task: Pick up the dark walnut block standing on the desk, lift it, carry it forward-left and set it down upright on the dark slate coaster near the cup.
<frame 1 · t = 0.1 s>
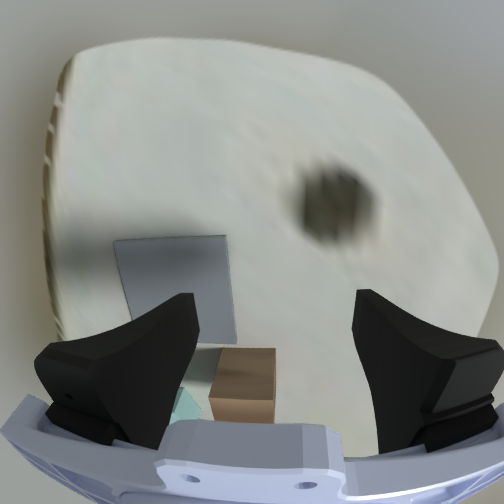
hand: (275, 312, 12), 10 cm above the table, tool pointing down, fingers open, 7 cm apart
teal block: (179, 399, 29), on the table
slate coaster: (176, 292, 24), on the table
walnut block: (250, 366, 26), on the table
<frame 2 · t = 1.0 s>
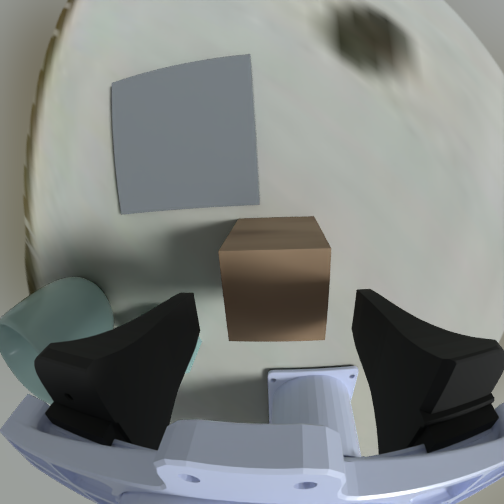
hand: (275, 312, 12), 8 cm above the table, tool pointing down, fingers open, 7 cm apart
cup: (92, 302, 23), on the table
slate coaster: (180, 134, 17), on the table
walnut block: (277, 253, 19), on the table
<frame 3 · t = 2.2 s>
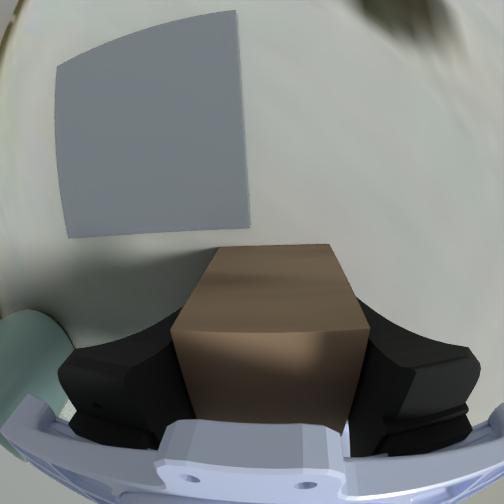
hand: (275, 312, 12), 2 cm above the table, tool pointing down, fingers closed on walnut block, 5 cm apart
cup: (55, 336, 17), on the table
slate coaster: (136, 127, 11), on the table
walnut block: (275, 294, 13), on the table, touching gripper
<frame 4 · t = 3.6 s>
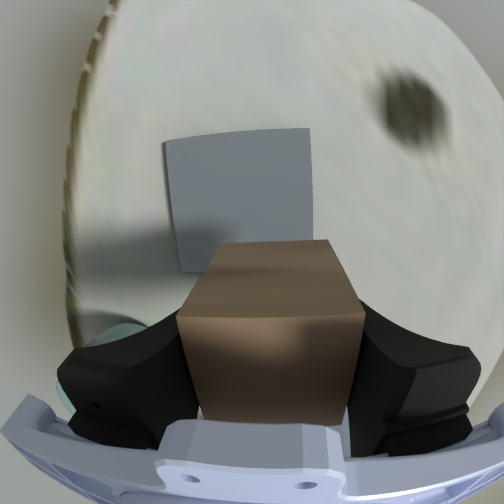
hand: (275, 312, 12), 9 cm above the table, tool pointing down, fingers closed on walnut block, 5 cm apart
cup: (143, 342, 25), on the table
slate coaster: (240, 202, 20), on the table
walnut block: (276, 289, 14), point 7 cm above the table, touching gripper
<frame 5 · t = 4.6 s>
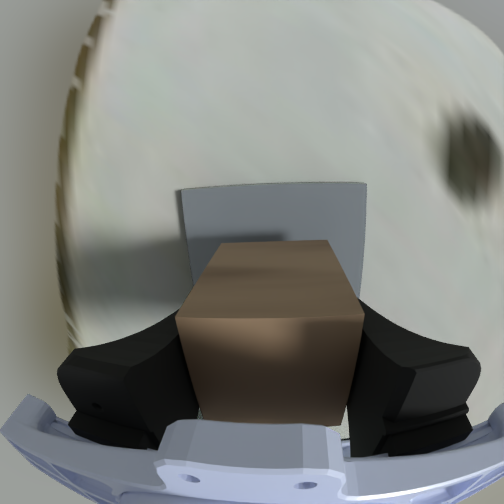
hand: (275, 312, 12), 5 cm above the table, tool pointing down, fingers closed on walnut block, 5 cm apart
slate coaster: (276, 269, 16), on the table
walnut block: (275, 289, 14), point 3 cm above the table, touching gripper
when the fingers open (3 cm above the table, at t = 5.4 s): walnut block stays where it is, resting on slate coaster.
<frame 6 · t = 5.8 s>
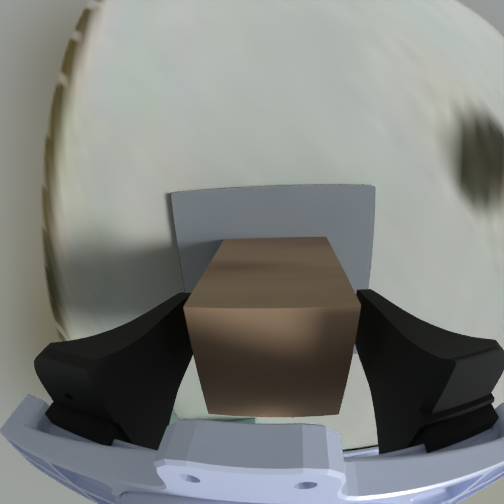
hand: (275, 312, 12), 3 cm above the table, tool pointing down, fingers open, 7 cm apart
slate coaster: (276, 279, 15), on the table
walnut block: (276, 284, 14), point 1 cm above the table, touching slate coaster
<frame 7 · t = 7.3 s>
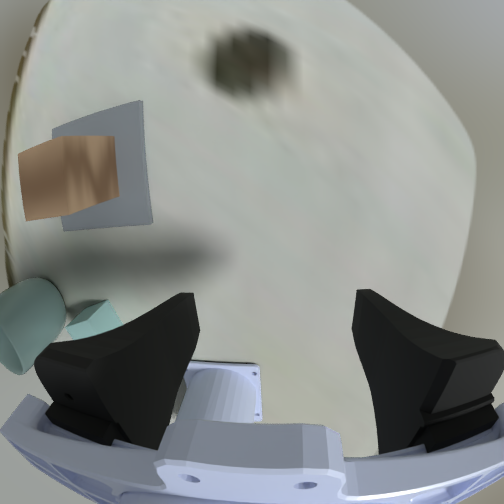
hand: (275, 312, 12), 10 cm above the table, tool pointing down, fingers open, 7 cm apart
cup: (52, 297, 26), on the table
teal block: (106, 319, 26), on the table
slate coaster: (97, 170, 20), on the table
walnut block: (93, 170, 20), point 1 cm above the table, touching slate coaster
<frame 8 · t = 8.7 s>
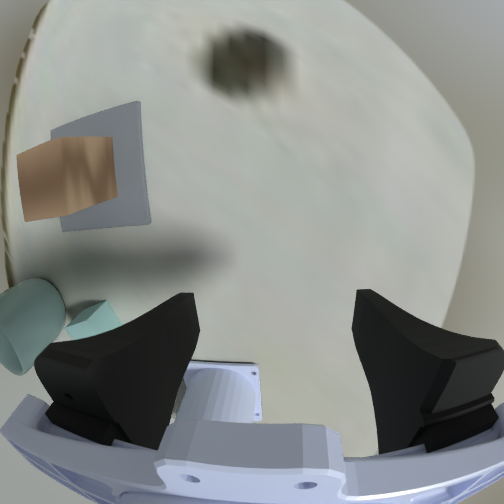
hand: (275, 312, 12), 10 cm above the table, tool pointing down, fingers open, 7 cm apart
cup: (52, 298, 26), on the table
teal block: (105, 320, 26), on the table
slate coaster: (95, 171, 20), on the table
walnut block: (91, 171, 20), point 1 cm above the table, touching slate coaster
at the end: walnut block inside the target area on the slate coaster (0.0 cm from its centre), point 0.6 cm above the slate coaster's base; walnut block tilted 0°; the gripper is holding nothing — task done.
